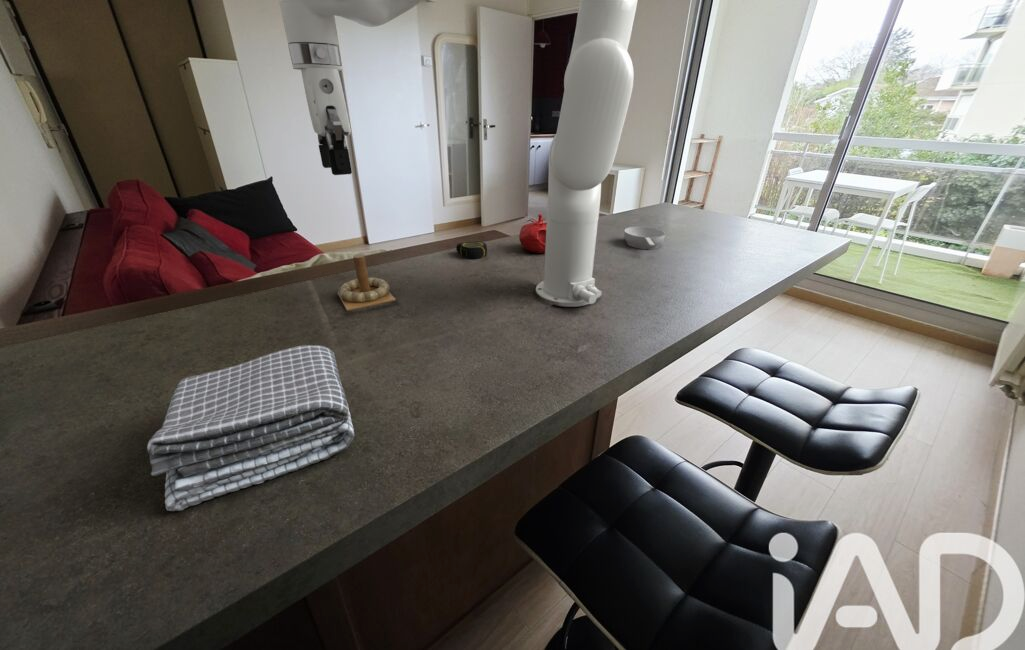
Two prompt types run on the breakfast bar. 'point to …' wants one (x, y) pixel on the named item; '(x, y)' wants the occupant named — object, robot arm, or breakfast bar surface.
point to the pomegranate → (534, 236)
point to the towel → (250, 424)
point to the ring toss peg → (364, 286)
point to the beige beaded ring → (363, 296)
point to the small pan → (644, 237)
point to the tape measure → (472, 250)
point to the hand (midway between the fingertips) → (336, 170)
